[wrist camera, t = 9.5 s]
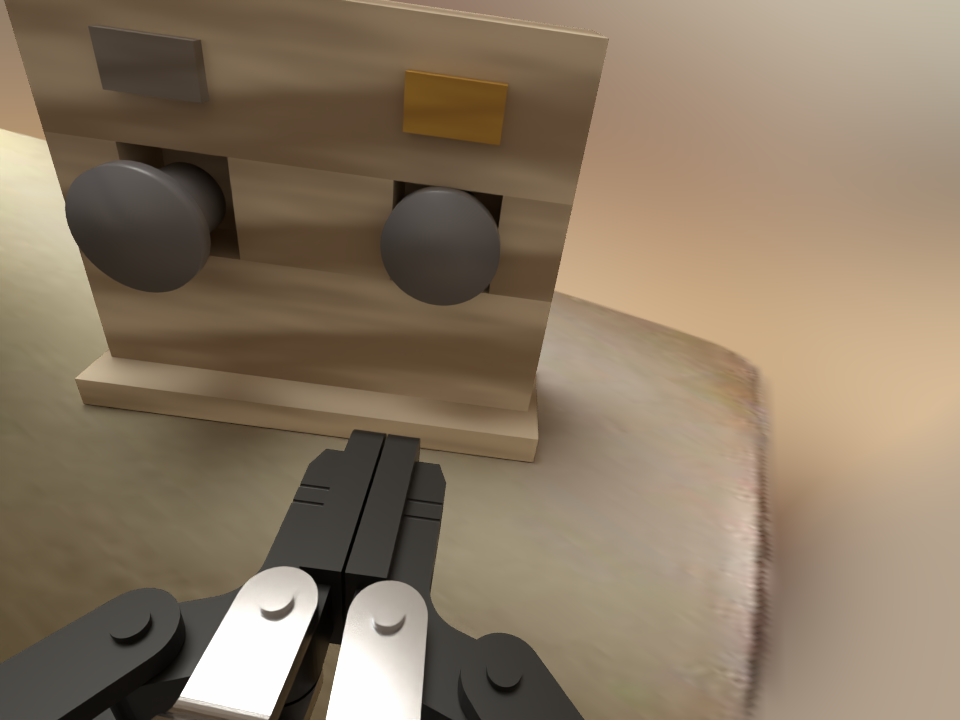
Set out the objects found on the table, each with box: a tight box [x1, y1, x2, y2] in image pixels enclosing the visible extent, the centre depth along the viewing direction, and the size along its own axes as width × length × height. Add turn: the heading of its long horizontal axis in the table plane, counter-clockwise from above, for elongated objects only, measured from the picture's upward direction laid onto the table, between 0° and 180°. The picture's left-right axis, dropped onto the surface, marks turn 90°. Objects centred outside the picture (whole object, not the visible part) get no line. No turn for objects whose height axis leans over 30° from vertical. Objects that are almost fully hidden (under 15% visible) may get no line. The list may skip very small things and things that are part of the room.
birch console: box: [4, 0, 609, 462], centre depth 25 cm, size 8×22×18 cm, turn 87°
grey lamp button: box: [65, 160, 226, 293], centre depth 22 cm, size 4×5×5 cm
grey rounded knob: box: [380, 186, 501, 306], centre depth 24 cm, size 4×5×5 cm
